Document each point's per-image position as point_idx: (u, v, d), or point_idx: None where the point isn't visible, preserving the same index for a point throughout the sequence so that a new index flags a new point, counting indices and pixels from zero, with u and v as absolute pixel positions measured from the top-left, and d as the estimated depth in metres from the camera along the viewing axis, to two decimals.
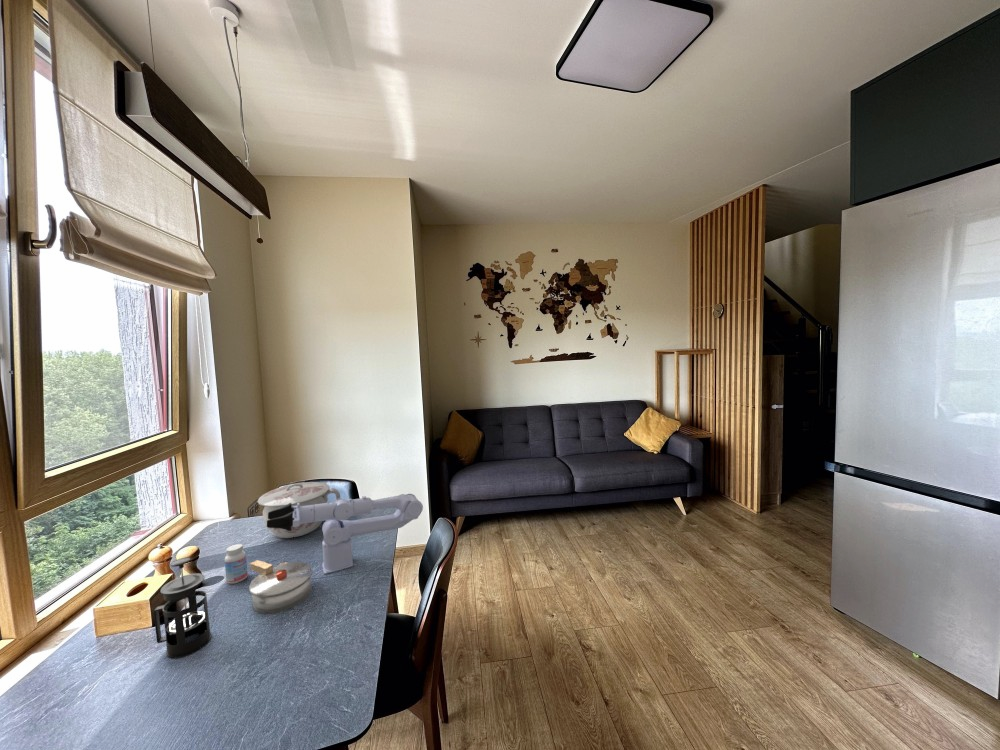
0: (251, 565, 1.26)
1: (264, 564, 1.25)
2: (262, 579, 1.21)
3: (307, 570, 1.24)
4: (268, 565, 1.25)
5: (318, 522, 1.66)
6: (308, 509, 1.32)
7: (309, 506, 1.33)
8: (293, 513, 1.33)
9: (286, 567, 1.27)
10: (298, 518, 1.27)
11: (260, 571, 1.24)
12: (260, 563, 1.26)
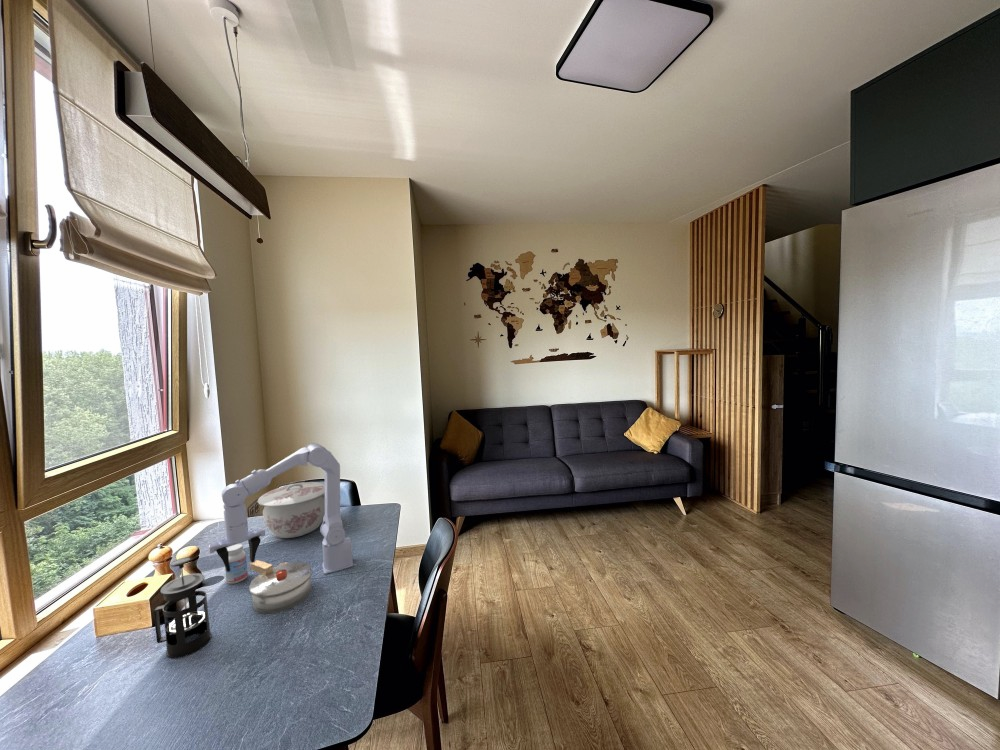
0: (251, 565, 1.26)
1: (264, 564, 1.25)
2: (262, 579, 1.21)
3: (307, 570, 1.24)
4: (268, 565, 1.25)
5: (318, 522, 1.66)
6: None
7: None
8: None
9: (286, 567, 1.27)
10: None
11: (260, 571, 1.24)
12: (260, 563, 1.26)
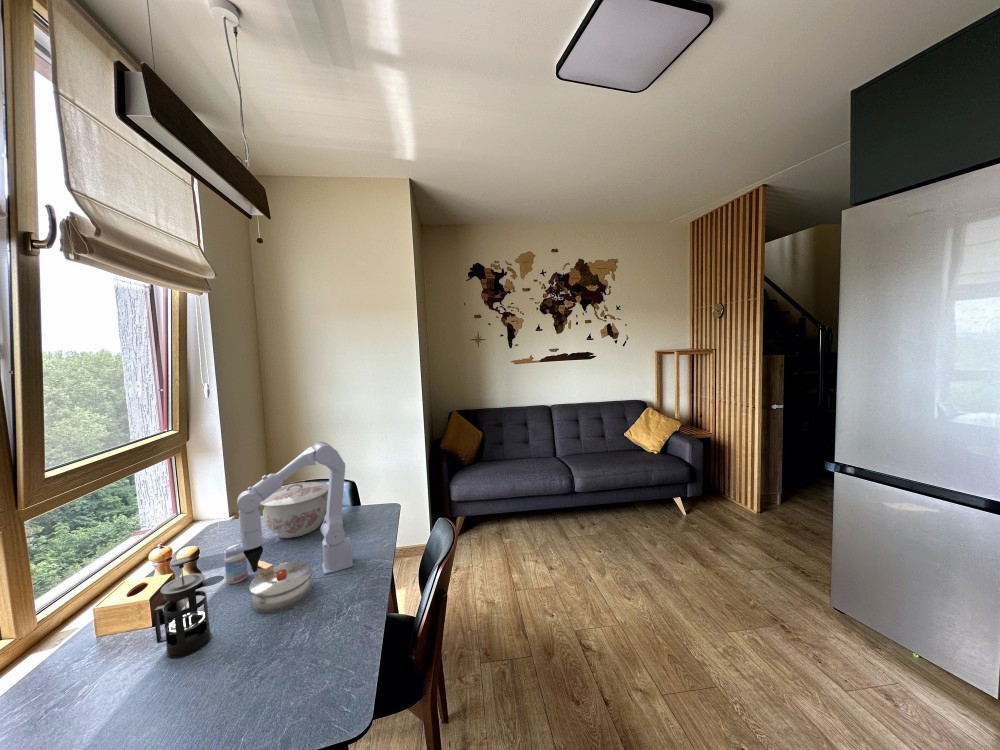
0: None
1: (264, 564, 1.26)
2: (262, 579, 1.21)
3: (307, 570, 1.24)
4: (268, 565, 1.25)
5: (318, 522, 1.66)
6: None
7: None
8: None
9: (287, 567, 1.27)
10: None
11: (260, 571, 1.24)
12: (260, 563, 1.27)
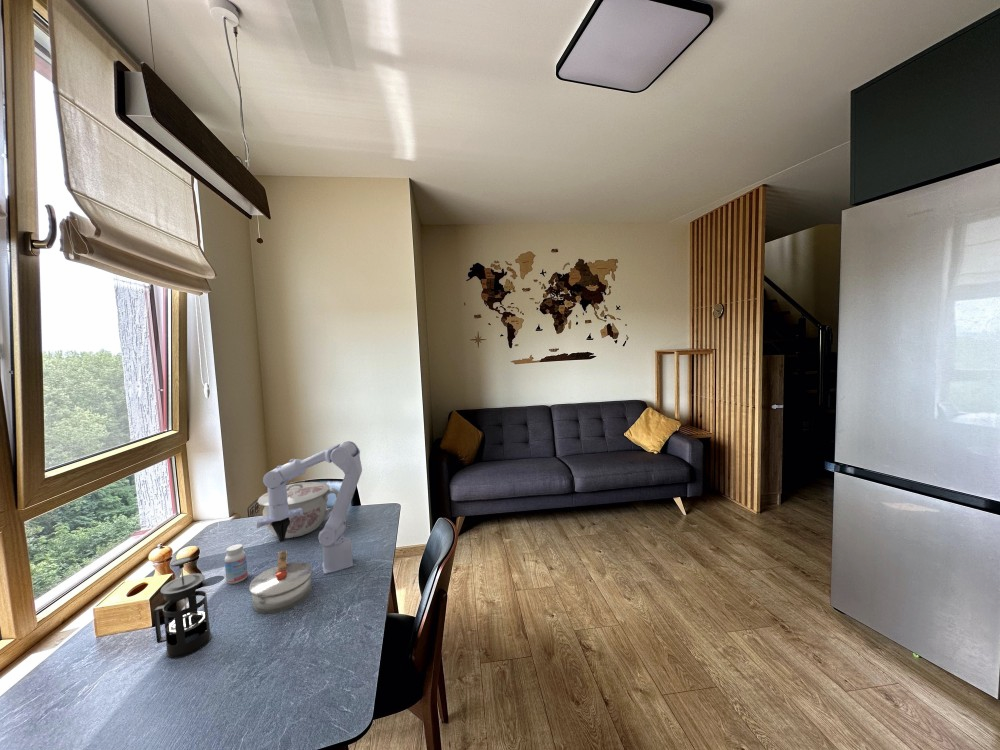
0: None
1: (282, 558, 1.29)
2: (270, 573, 1.24)
3: (301, 578, 1.20)
4: (283, 560, 1.28)
5: (318, 522, 1.66)
6: None
7: None
8: (285, 517, 1.38)
9: (297, 566, 1.27)
10: None
11: None
12: (283, 555, 1.31)
